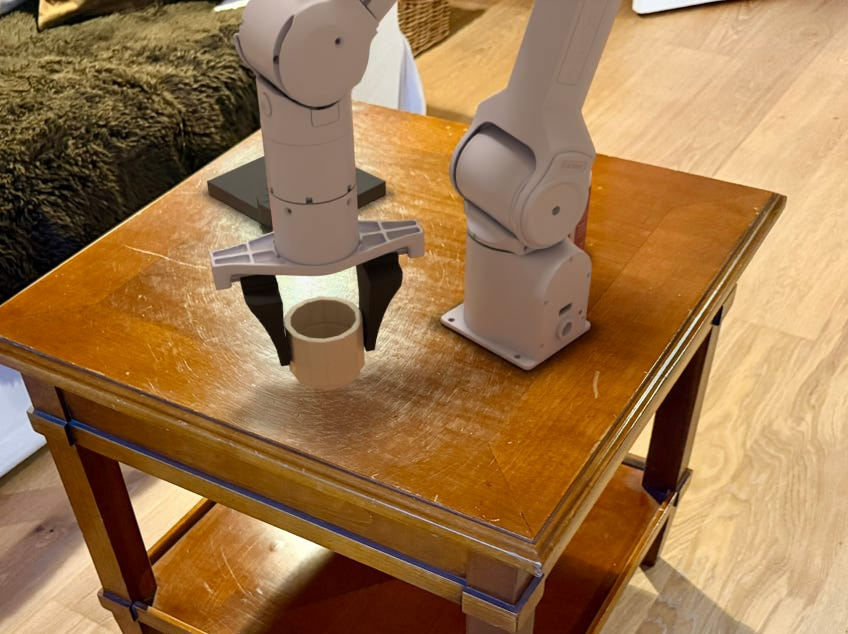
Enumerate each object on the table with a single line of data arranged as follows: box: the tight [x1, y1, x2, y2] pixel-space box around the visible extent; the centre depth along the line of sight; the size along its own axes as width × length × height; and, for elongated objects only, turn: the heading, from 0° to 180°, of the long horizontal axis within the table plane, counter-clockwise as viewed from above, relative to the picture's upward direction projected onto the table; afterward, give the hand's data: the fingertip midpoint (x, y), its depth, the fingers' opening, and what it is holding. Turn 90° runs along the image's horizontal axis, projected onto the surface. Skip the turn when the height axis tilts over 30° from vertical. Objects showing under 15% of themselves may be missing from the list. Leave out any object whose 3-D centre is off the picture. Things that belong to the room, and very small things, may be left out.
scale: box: [206, 155, 387, 231], centre depth 98 cm, size 14×13×3 cm
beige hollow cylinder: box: [284, 295, 366, 390], centre depth 74 cm, size 6×6×4 cm
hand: (326, 350), depth 75 cm, fingers closed on beige hollow cylinder, 6 cm apart
